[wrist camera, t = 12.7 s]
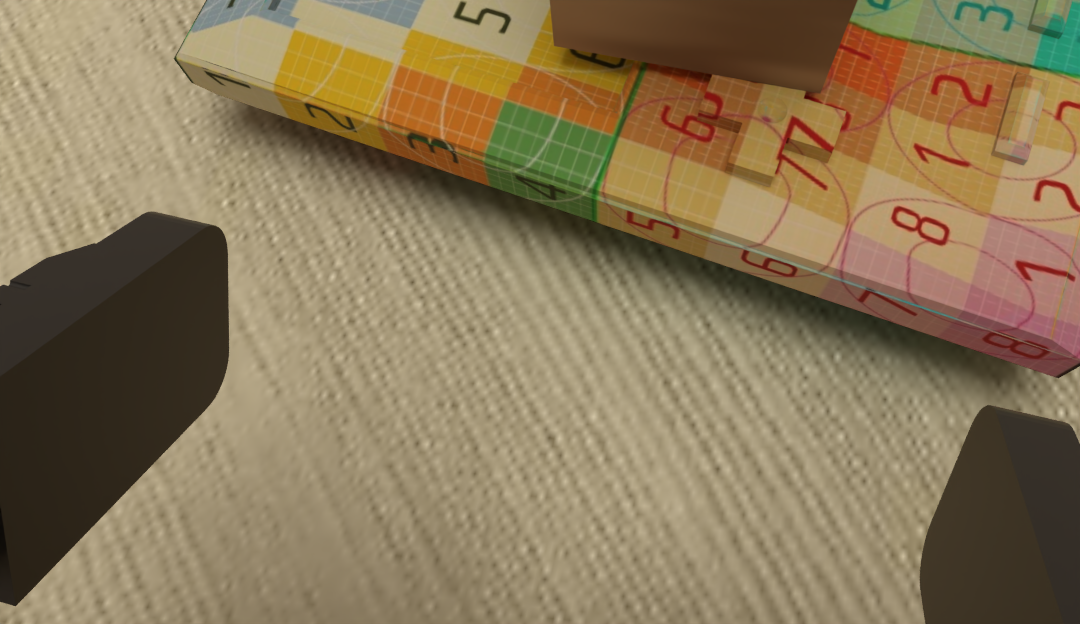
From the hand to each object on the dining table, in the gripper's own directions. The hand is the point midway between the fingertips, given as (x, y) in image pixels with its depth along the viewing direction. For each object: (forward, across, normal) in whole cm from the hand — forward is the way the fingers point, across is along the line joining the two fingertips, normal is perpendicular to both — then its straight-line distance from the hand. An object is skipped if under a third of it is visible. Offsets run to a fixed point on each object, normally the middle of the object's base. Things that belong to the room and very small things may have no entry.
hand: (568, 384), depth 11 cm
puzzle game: (+17, +1, +1) cm, 17 cm away
